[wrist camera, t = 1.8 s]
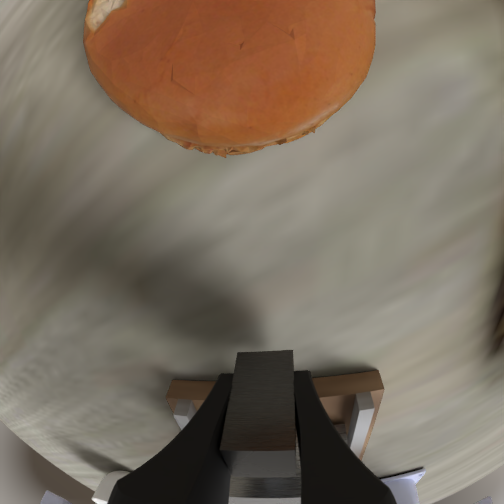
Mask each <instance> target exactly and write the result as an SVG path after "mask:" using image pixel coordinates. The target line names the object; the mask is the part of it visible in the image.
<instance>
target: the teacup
mask: <svg viewBox="0 0 504 504" xmlns="http://www.w3.org/2000/svg"><path fill="white" fill-rule="evenodd" d="M129 473H131V472H128V471H122V470H121V471H113V472H110V473H109V474H107V475H106V476H105V477H104V478H103V479H102V481H101V482H100V484H99V486H98V488H97V490H96V492H95V494H94V496H93V497H92V500H93V501H94V502H96V503H97V504H107V503H108V500H109V497H110V494H111V492H112V489H113V487H114V485H115V484H116V482H117V480H118V479H120V478H122V477H124V476H126V475H127V474H129Z"/></svg>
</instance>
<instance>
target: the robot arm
mask: <svg viewBox="0 0 504 504" xmlns="http://www.w3.org/2000/svg"><path fill="white" fill-rule="evenodd" d="M233 375H234V374H220V375H219V377H218V379H217V381H216V383H215V384H214V386H213V388H212V389H211V391H210V393H209V394H208V396H207V397H206V399H205V400H204V402H203V403H202V405H201V406H200V408H199V409H198V411H197V412H196V413H195V415H194V416H193V417H192V418H191V420H190V421H189V422H188V423H187V425H186V426H185V427H184V428H183V429H182V431H181V432H180V433H179V434H178V435H177V436H176V437H175V438H174V439H173V440H172V441H171V442H170V443H169V444H168V445H167V446H166V447H165V448H163V449H162V450H161V451H160V452H159V453H158V454H157V455H155V456H154V457H153V458H151V459H150V460H149V461H147V462H146V463H145V464H143V465H142V466H140V467H139V468H137V469H136V470H134V471H132V472H131V473H129V474H127V475H126V476H124V477H122V478H120V479H118V480H117V482H116V484H115V485H114V487H113V489H112V492H111V494H110V497H109V500H108V503H107V504H228V503H229V490H230V479H231V473H230V471H229V469H228V466H227V464H226V462H225V460H224V458H223V456H222V454H221V452H220V446H221V440H222V435H223V429H224V424H225V418H226V413H227V408H228V402H229V397H230V391H231V388H232V380H233ZM293 383H294V395H295V419H296V432H297V440H298V448H299V457H300V467H301V504H420V503H419V498H418V494H417V489H416V485H415V484H416V483H417V482H418V481H419V480H420V478H421V477H422V476H423V475H424V474H425V472H426V469H421V470H417V471H414V472H410V473H406V474H402V475H398V476H394V477H390V478H385V479H379V478H378V477H376V476H375V475H374V474H373V473H372V472H371V471H370V470H369V469H368V468H367V467H366V466H365V465H364V464H363V463H362V461H361V460H360V459H359V458H358V457H357V456H356V455H355V454H354V452H353V451H352V450H351V449H350V447H349V446H348V445H347V444H346V442H345V441H344V440H343V438H342V437H341V435H340V434H339V432H338V431H337V429H336V428H335V426H334V425H333V423H332V421H331V420H330V418H329V416H328V414H327V412H326V411H325V409H324V407H323V405H322V403H321V401H320V398H319V396H318V394H317V391H316V389H315V386H314V383H313V380H312V377H311V372H310V371H308V370H305V371H294V380H293ZM40 504H72V503H70V502H69V501H67V500H65V499H63V498H61V497H60V496H58V495H55V494H54V493H52V492H50V491H46V492H45V495H44V496H43V499H42V501H41V503H40ZM474 504H493V503H492V499H491V497H490V496H488V497H486V498H484V499H482V500H480V501H478V502H476V503H474Z"/></svg>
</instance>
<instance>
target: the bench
mask: <svg viewBox="0 0 504 504" xmlns="http://www.w3.org/2000/svg"><path fill="white" fill-rule="evenodd" d="M312 380H313V383H314V386H315V389H316V391H317V394H318V396H319V398H320V401H321V403H322V405H323V407H324V409H325V411H326V412H327V414H328V416H329V418H330V420H331V421H332V423H333V425H340V424H345V428H346V435H347V442H348V446H349V447H350V449H351V450H352V451H353V452H354V454H355V455H356V456H357V457H358V458H359V459H360V460H362V457H363V455H364V452H365V449H366V446H367V444H368V441H369V438H370V435H371V432H372V429H373V426H374V423H375V420H376V416H377V413H378V410H379V406H380V403H381V400H382V396H383V392H384V386H383V383H382V380H381V377H380V374H379V370H375V371H369V372H362V373H354V374H346V375H338V376H329V377H318V378H312ZM215 383H216V381H189V380H172V382H171V385H170V387H169V390H168V393H167V395H166V400H167V402H168V404H169V406H170V408H171V410H172V412H173V416H174V418H175V420H176V421H177V423H178V425H179V427H180V429H181V431H182V429H183V428H184V427H185V426H186V425H187V423H188V422H189V421H190V420H191V418H192V417H193V416H194V415H195V413H196V412H197V411H198V409H199V408H200V406H201V405H202V403H203V402H204V400H205V399H206V397H207V396H208V394H209V393H210V391H211V389H212V388H213V386H214V384H215Z"/></svg>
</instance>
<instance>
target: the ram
mask: <svg viewBox="0 0 504 504" xmlns="http://www.w3.org/2000/svg"><path fill="white" fill-rule="evenodd" d="M293 380H294V360H293V350H283V351H264V352H238V353H237V358H236V364H235V369H234V375H233V380H232V388H231V391H230V397H229V402H228V408H227V413H226V418H225V424H224V429H223V435H222V440H221V446H220V452H221V454H222V456H223V458H224V460H225V462H226V464H227V466H228V469H229V471H230V473H231V479H230V490H229V503H228V504H301V467H300V457H299V448H298V440H297V432H296V419H295V395H294V383H293ZM334 426H335V428H336V429H337V431H338V432H339V434H340V435H341V437H342V438H343V440H344V441H345V442H346V444H347V445H348V442H347V435H346V428H345V424H340V425H334Z"/></svg>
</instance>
